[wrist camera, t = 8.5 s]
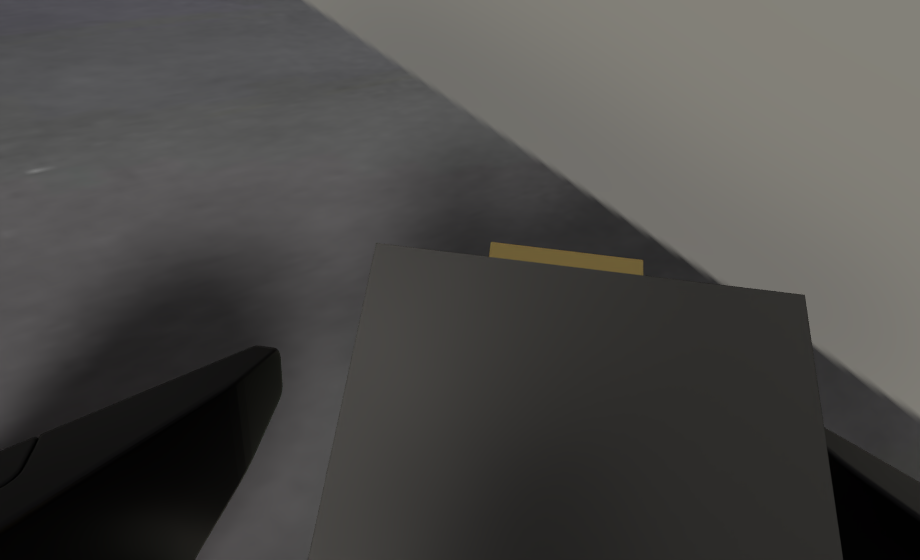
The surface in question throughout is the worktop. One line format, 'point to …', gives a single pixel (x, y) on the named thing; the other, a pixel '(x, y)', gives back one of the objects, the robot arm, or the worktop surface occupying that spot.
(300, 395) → the worktop surface
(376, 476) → the dark grey tall block
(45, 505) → the robot arm
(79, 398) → the worktop surface
